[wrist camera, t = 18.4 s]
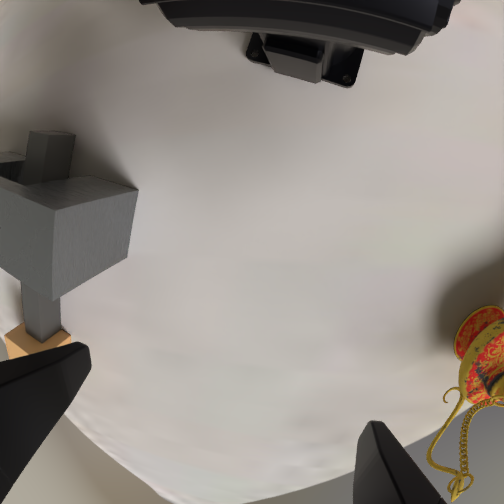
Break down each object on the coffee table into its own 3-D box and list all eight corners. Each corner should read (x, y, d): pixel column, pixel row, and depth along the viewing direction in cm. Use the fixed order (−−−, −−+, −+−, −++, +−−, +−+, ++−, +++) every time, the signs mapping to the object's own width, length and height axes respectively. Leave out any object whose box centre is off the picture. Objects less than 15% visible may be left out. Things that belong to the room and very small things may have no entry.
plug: (47, 129, 20) (1, 130, 15) (87, 137, 20) (39, 137, 15) (41, 354, 28) (13, 377, 23) (73, 376, 27) (46, 402, 23)
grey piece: (9, 151, 21) (-58, 160, 14) (138, 190, 20) (55, 210, 12) (4, 202, 23) (-59, 220, 15) (127, 257, 21) (52, 301, 14)
